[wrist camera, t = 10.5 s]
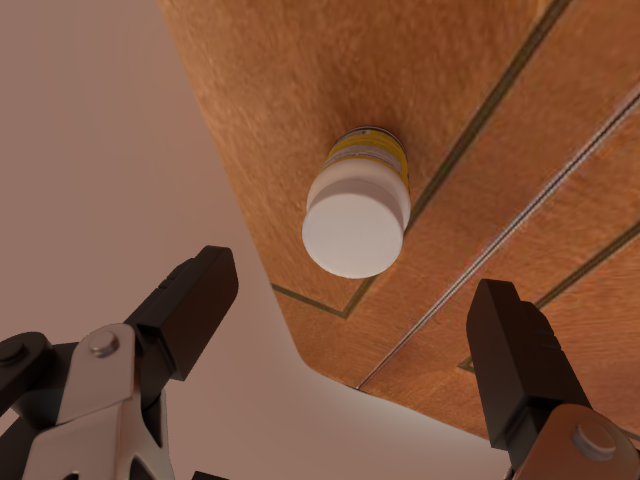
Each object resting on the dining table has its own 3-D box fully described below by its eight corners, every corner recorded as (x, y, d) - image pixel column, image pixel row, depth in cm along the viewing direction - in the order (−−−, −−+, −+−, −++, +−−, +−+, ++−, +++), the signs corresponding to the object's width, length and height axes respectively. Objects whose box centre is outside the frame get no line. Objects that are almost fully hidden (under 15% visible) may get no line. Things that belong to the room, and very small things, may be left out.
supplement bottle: (383, 211, 20) (376, 302, 14) (318, 181, 20) (277, 259, 13) (423, 145, 18) (439, 218, 11) (348, 109, 17) (315, 161, 11)
